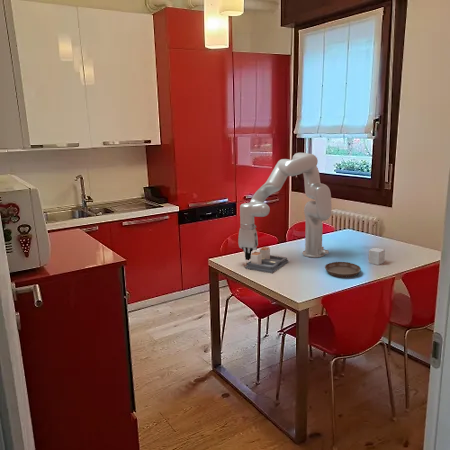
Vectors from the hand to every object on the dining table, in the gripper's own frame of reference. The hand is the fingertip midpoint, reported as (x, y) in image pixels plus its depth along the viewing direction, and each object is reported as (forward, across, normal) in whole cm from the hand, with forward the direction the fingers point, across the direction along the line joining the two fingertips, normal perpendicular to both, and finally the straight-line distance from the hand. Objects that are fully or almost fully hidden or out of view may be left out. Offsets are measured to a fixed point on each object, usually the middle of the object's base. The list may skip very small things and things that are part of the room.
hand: (248, 259), depth 235 cm
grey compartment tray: (+4, -9, -5) cm, 11 cm away
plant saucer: (+4, -48, -13) cm, 50 cm away
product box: (+4, -59, -36) cm, 69 cm away
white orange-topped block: (+2, -5, -10) cm, 11 cm away
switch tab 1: (+2, -5, 0) cm, 5 cm away
